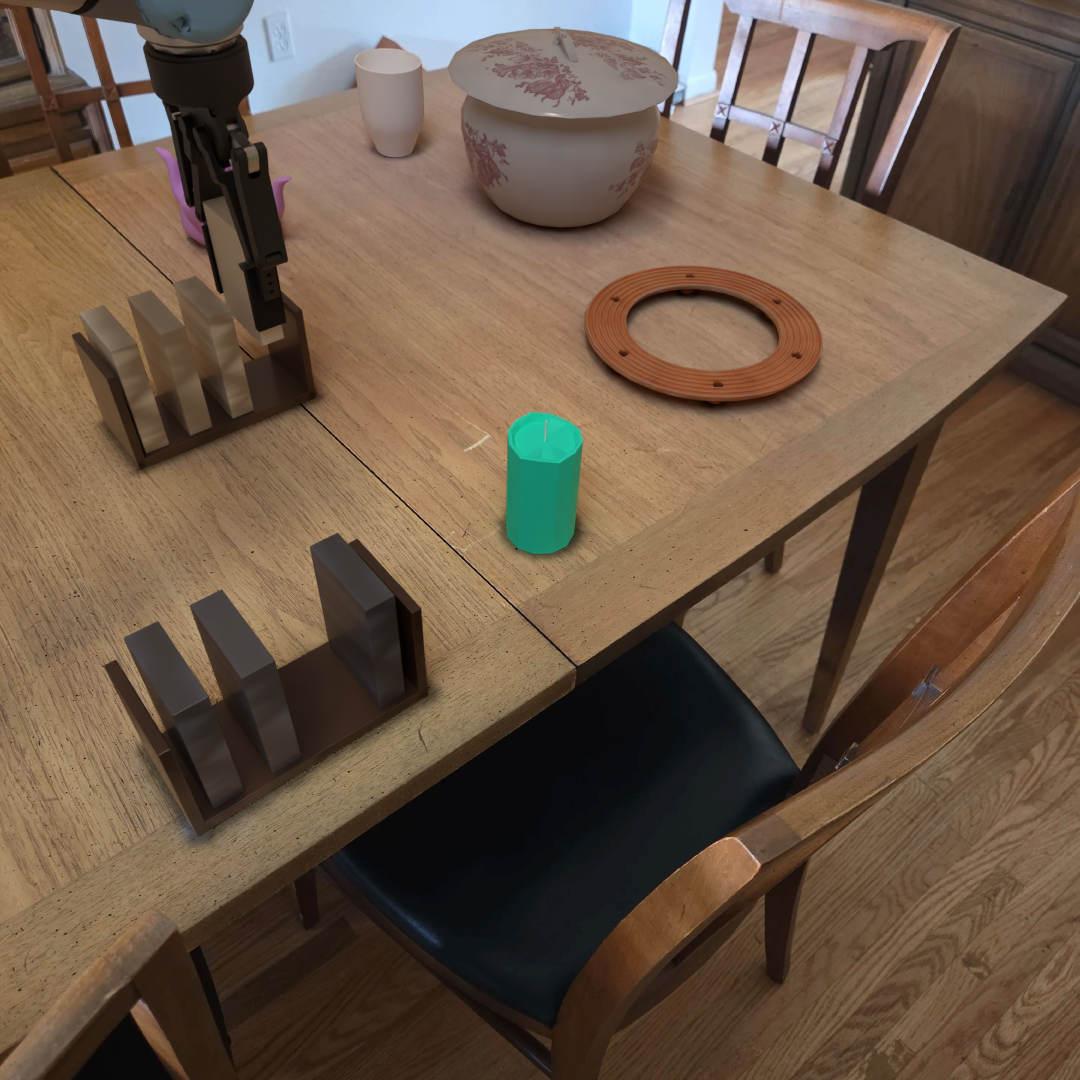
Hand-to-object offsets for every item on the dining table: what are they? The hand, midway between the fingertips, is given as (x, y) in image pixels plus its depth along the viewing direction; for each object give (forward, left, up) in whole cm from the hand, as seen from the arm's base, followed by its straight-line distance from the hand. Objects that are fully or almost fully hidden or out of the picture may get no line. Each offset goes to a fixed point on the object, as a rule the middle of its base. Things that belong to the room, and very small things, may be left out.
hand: (251, 305), depth 85 cm
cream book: (0, 0, -2) cm, 2 cm away
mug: (+21, +53, -10) cm, 58 cm away
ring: (+46, -1, -10) cm, 47 cm away
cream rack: (-5, -3, -9) cm, 11 cm away
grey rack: (0, -40, -9) cm, 41 cm away
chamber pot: (+39, +33, -10) cm, 52 cm away
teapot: (-2, +32, -10) cm, 34 cm away
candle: (+22, -25, -10) cm, 34 cm away
